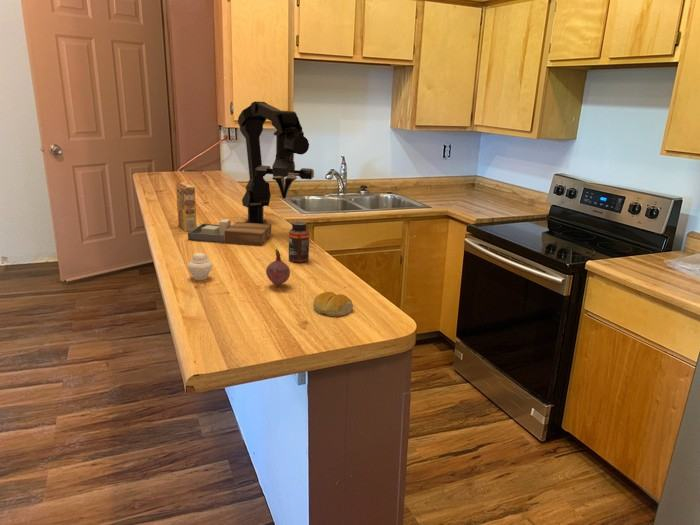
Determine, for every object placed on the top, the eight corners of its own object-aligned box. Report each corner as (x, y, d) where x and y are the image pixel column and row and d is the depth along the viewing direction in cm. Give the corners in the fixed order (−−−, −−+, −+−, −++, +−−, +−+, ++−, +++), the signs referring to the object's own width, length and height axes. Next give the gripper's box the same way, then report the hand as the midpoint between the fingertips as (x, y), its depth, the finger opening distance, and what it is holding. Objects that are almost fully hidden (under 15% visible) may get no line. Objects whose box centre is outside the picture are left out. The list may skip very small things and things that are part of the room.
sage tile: (214, 229, 175) (214, 236, 176) (220, 226, 179) (220, 233, 180) (201, 228, 176) (201, 235, 177) (208, 225, 180) (208, 232, 181)
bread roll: (325, 300, 130) (326, 284, 129) (357, 309, 126) (358, 293, 124) (305, 310, 123) (305, 294, 122) (337, 320, 119) (338, 303, 118)
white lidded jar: (199, 284, 135) (198, 257, 133) (182, 278, 138) (181, 252, 136) (217, 277, 140) (217, 252, 138) (201, 272, 143) (200, 247, 141)
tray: (202, 230, 185) (202, 223, 184) (235, 233, 184) (235, 226, 183) (188, 240, 172) (187, 232, 171) (223, 243, 171) (223, 235, 171)
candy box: (197, 230, 184) (195, 186, 179) (185, 232, 182) (183, 187, 177) (189, 225, 191) (187, 182, 186) (177, 226, 189) (175, 182, 184)
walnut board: (236, 233, 184) (236, 221, 182) (271, 235, 183) (271, 224, 182) (224, 243, 171) (224, 231, 170) (261, 246, 170) (261, 233, 169)
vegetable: (278, 280, 141) (278, 244, 138) (295, 286, 137) (296, 249, 134) (260, 286, 136) (261, 248, 133) (277, 292, 133) (278, 253, 130)
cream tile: (230, 232, 183) (223, 231, 183) (230, 219, 181) (223, 218, 181) (226, 235, 178) (219, 235, 178) (226, 222, 177) (219, 221, 177)
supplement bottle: (311, 259, 160) (313, 222, 157) (303, 264, 155) (304, 226, 152) (293, 256, 162) (294, 219, 159) (284, 261, 157) (285, 223, 153)
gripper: (250, 151, 168) (250, 200, 173) (309, 155, 167) (307, 204, 172) (259, 148, 179) (259, 194, 184) (314, 151, 178) (313, 198, 182)
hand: (284, 198), depth 180 cm, fingers closed
